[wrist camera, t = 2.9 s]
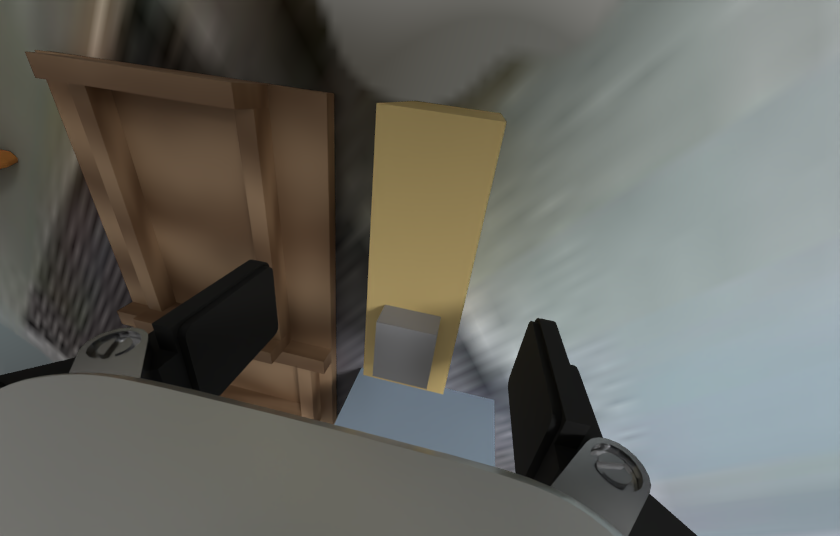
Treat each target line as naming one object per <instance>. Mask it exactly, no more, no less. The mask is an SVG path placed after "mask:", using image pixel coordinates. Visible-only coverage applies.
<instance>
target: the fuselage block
mask: <svg viewBox="0 0 840 536" xmlns="http://www.w3.org/2000/svg"><path fill="white" fill-rule="evenodd" d="M505 126H506V121H505V119H504V117H503V116H502V114H501V113H495V112H488V111H481V110H474V109H467V108H460V107H454V106H447V105H441V104H434V103H427V102H420V101H405V102H387V103H377V105H376V126H375V146H374V166H373V187H372V207H371V228H370V248H369V269H368V289H367V310H366V330H365V351H364V371H363V375H365V376H370V377H374V378H378V379H382V380H386V381H390V382H394V383H398V384H402V385H406V386H410V387H414V388H418V389H423V390H427V391H431V392H435V393H439V394H443V393H444V388H445V384H446V380H447V376H448V371H449V367H450V363H451V358H452V354H453V350H454V345H455V341H456V337H457V333H458V328H459V324H460V320H461V315H462V311H463V307H464V303H465V298H466V294H467V290H468V285H469V281H470V277H471V272H472V268H473V264H474V260H475V255H476V251H477V247H478V242H479V238H480V234H481V229H482V225H483V221H484V217H485V212H486V208H487V204H488V199H489V195H490V191H491V187H492V182H493V178H494V174H495V169H496V165H497V161H498V156H499V152H500V148H501V144H502V139H503V135H504V131H505Z"/></svg>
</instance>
